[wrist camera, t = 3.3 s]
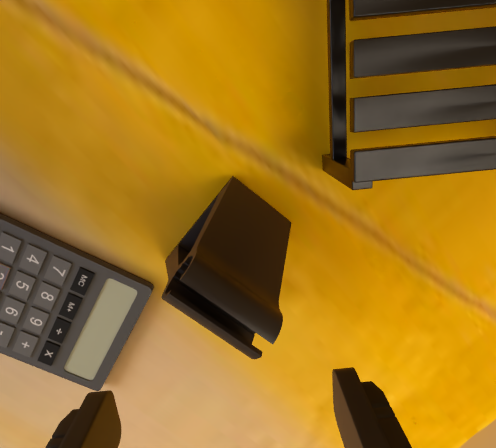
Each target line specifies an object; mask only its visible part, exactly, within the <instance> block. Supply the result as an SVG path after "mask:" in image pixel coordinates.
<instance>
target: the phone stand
mask: <svg viewBox="0 0 496 448" xmlns="http://www.w3.org/2000/svg"><path fill="white" fill-rule="evenodd" d="M290 227H291V222H290V221H289V220H288V219H287V218H285V217H284V216H283V215H281V214H280V213H279V212H278V211H276V210H275V209H274V208H273V207H271V206H270V205H269V204H268V203H266V202H265V201H264V200H263V199H261V198H260V197H259V196H258V195H256V194H255V193H254V192H253V191H251V190H250V189H249V188H248V187H246V186H245V185H244V184H243V183H241V182H240V181H239V180H238V179H236V178H235V177H234V176H233V177H232V178H231V179H230V180H229V181H228V183H227V184H226V185H225V186H224V188H223V189H222V190H221V191H220V193H219V194H218V195H217V196H216V198H215V199H214V200H213V201H212V203H211V204H210V205H209V206H208V207H207V209H206V210H205V211H204V212H203V214H202V215H201V216H200V218H199V219H198V220H197V221H196V222H195V224H194V225H193V226H192V227H191V229H190V230H189V231H188V232H187V234H186V235H185V236H184V237H183V239H182V240H181V241H180V242H179V244H178V245H177V246H176V247H175V249H174V250H173V251H172V252H171V254H170V255H169V256H168V257H167V259H166V260H165V262H166V267H167V273H168V279H169V280H168V283H167V286H166V288H165V290H164V292H163V295H162V299H163V300H165V301H166V302H168V303H169V304H171V305H172V306H174V307H175V308H177V309H178V310H180V311H181V312H183V313H184V314H186V315H187V316H189V317H190V318H192V319H193V320H195V321H196V322H198V323H199V324H201V325H202V326H204V327H205V328H207V329H208V330H210V331H211V332H213V333H214V334H216V335H217V336H219V337H220V338H222V339H223V340H225V341H226V342H227V343H229V344H230V345H232V346H233V347H235V348H236V349H238V350H239V351H241V352H242V353H244V354H245V355H247V356H248V357H250V358H251V359H257V358H260V357H261V356H262V351H260V350H259V349H257V348H256V347H254V346H253V345H252V341H253V338H254V334H255V333H257V334H259V335H260V336H261V337H263V338H264V339H266V340H267V341H269V342H270V343H272V344H273V343H274V342H275V340H276V339H277V337H278V335H279V332H280V330H281V327H282V322H283V316H282V313H281V312H280V309H279V295H280V288H281V282H282V276H283V270H284V264H285V258H286V251H287V245H288V239H289V233H290Z"/></svg>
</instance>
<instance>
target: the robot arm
mask: <svg viewBox="0 0 496 448" xmlns="http://www.w3.org/2000/svg"><path fill="white" fill-rule="evenodd" d="M332 377H333V404H334V412H335V417H336V421H337V425H338V428H339V431H340V434H341V438H342V441H343V444H344V447H345V448H412V447H411V445H410V443H409V441H408V439H407V437H406V435H405V433H404V431H403V430H402V428H401V426H400V424H399V422H398V420H397V418H396V417H395V414H394V412H393V410H392V408H391V407H390V405H389V402H388V400H387V399H386V397H385V395H384V393H383V391H382V390H381V389H379V388H378V387H377V386H376V385H375V384H374V383H373V382H372V381H370V382H360V379H359V377H358V375H357V373H356V371H355V369H354V368H353V367H352V368H342V369H333V372H332ZM120 438H121V422H120V418H119V415H118V411H117V407H116V403H115V399H114V395H113V393H112V391H100V392H90V393H88V394H87V396H86V397H85V399H84V401H83V403H82V405H81V407H80V409H75V410H72V411H71V412H70V413H69V414H68V415H67V416H66V417H65V418H64V419H63V420H62V421H61V422H60V423H59V425H58V427H57V429H56V430H55V432H54V434H53V436H52V439H50V441H49V442H48V444H47V446H46V448H118V446H119V443H120Z"/></svg>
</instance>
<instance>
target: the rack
mask: <svg viewBox="0 0 496 448" xmlns="http://www.w3.org/2000/svg"><path fill="white" fill-rule="evenodd" d="M494 7H496V0H349V19H350V21H356V20H366V19H377V18H388V17H398V16H409V15H419V14H430V13H441V12H451V11H462V10H472V9H483V8H494ZM327 33H328V77H329V121H330V154H328V155H322V166H323V171H325V172H326V173H328V174H329V175H331V176H332V177H334V178H335V179H337V180H338V181H340V182H341V183H343V184H344V185H346V186H347V187H349V188H350V189H352V190H358V189H369V188H372V181H379V180H389V179H399V178H410V177H420V176H431V175H441V174H452V173H462V172H472V171H483V170H493V169H496V136H490V137H480V138H469V139H459V140H448V141H438V142H427V143H417V144H406V145H396V146H385V147H375V148H365V149H354V150H351V151H350V159H349V158H347V131H346V26H345V0H327ZM349 50H350V79H354V78H365V77H375V76H386V75H396V74H407V73H417V72H428V71H438V70H449V69H460V68H470V67H481V66H491V65H496V26H495V27H485V28H474V29H464V30H453V31H443V32H432V33H421V34H411V35H400V36H390V37H379V38H369V39H358V40H353V41H352V42H350V43H349ZM491 119H496V84H494V85H484V86H473V87H463V88H452V89H442V90H431V91H421V92H410V93H400V94H389V95H379V96H368V97H358V98H350V132H365V131H375V130H386V129H396V128H407V127H417V126H428V125H438V124H449V123H459V122H470V121H480V120H491Z"/></svg>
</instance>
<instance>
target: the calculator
mask: <svg viewBox="0 0 496 448" xmlns="http://www.w3.org/2000/svg"><path fill="white" fill-rule="evenodd" d="M153 288H154V287H153V285H152V284H151V283H149V282H147V281H145V280H143V279H140V278H138V277H136V276H134V275H132V274H130V273H128V272H125V271H123V270H121V269H119V268H117V267H115V266H112V265H110V264H108V263H106V262H104V261H102V260H99V259H97V258H95V257H93V256H91V255H89V254H87V253H84V252H82V251H80V250H78V249H76V248H74V247H71V246H69V245H67V244H65V243H63V242H61V241H59V240H56V239H54V238H52V237H50V236H48V235H46V234H43V233H41V232H39V231H37V230H35V229H33V228H30V227H28V226H26V225H24V224H22V223H20V222H18V221H15V220H13V219H11V218H9V217H7V216H5V215H2V214H0V353H2V354H5V355H7V356H10V357H12V358H15V359H17V360H20V361H22V362H25V363H27V364H30V365H32V366H35V367H37V368H40V369H42V370H45V371H47V372H50V373H52V374H55V375H57V376H60V377H62V378H65V379H67V380H70V381H72V382H75V383H77V384H80V385H83V386H85V387H88V388H90V389H93V390H96V391H99V390H100V389H101V388H102V386H103V384H104V382H105V380H106V378H107V377H108V375H109V373H110V371H111V369H112V367H113V365H114V363H115V361H116V359H117V358H118V356H119V354H120V352H121V350H122V348H123V346H124V344H125V342H126V341H127V339H128V337H129V335H130V333H131V331H132V329H133V327H134V325H135V323H136V322H137V320H138V318H139V316H140V314H141V312H142V310H143V308H144V306H145V304H146V303H147V301H148V299H149V297H150V295H151V293H152V291H153Z"/></svg>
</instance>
